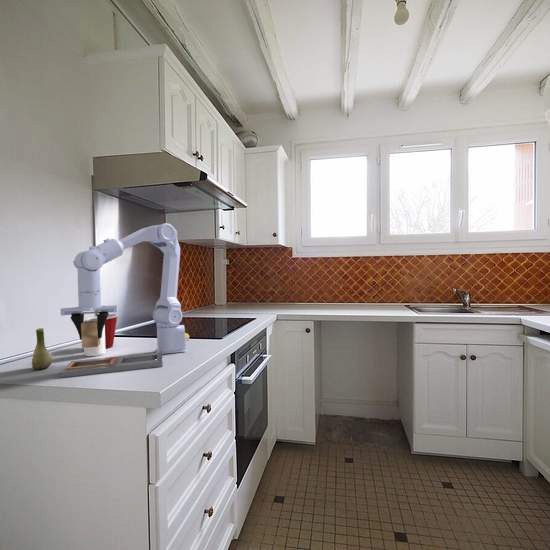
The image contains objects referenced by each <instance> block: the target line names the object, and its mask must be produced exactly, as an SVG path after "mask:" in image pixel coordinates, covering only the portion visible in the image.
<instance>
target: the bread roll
mask: <svg viewBox="0 0 550 550" xmlns="http://www.w3.org/2000/svg"><path fill="white" fill-rule="evenodd" d="M186 340H187V341H189V340H190V335H189V334H188V332H187V333H186V332H185V341H186ZM187 341H186V342H187Z"/></svg>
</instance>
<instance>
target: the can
mask: <svg viewBox="0 0 550 550" xmlns="http://www.w3.org/2000/svg"><path fill="white" fill-rule="evenodd" d="M84 321H97V319H89V320H86V319H85V320H84ZM106 349H107V348H106ZM106 349H105V324H104V328H103V332H102V337H101V338H100V345H99V346H98V347H88V348H83V353H84V356H85V357H86V356H87V357H88V358H92V357H91V356H94V357H99V355H100V356H102V355H105V353H106V352H107V351H106Z"/></svg>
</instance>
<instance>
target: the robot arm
mask: <svg viewBox="0 0 550 550" xmlns="http://www.w3.org/2000/svg"><path fill="white" fill-rule="evenodd" d="M143 242H149V243H150V244H152V245H153V246H154V247H156V248H158V249H159V250H160V251H161V252H162V253H163V258H162V261H163V262H162V272H161V273H162V275H161V287H160V296H159V299H158V300H157V301H156V303H155V308H154V309H153V312H152V320H153V321H154V322H155V323H156V346H157V348H156V352H155V353H159V352H162V355H165V354H177V353H186V346H187V341H185V333H186V332H185V331H186V329H185V325H184V324H180V323H181V322H182V320H183V312H182V304H181V303H180V302H179V300H178V299H177V297H178V287H179V286H178V285H179V284H178V282H179V272H180V262H181V261H180V260H181V259H180V258H181V246H180V244H179V240H178V230H176V229H175V227H174V226H173V225H172V224H170V223H167V222H165V223H162V224H156V225H150V226H148V227H147V226H146V227H144V228H140V229H138V230H137V231H135V232H132V233H130V234H129V235H126V236H125V237H123V238H121V239H119V240H117V239H114V238H111V239H110V238H106V239H103V242H102V243H100V244H98V245H95V246H94V245H92V246H89V247H88V250H84V251H80V252H78V253H77V254H76V256H74V257H75V258H74V260H73V261H72V262H73V265H74V267H75V268H76V269H77V295H78V296H77V299H78V301H77V302H78V307H76V306H75V307H64V308H63V307H62V308H60V316H62V317H63V316H64V317H65V316H70V320H71V321H72V323H73V325H74V327H75V328H76V330H77V334H78V335H79V340H80V341H82V336H81V323H83V322H84V321H85V320H84V319H85V315H89V314H91V315H93V314H96V316H97V321H98V338H101V337H102V332H103V328H104V324H105V322H106V319H107V317H108V315H109V314H110V313H112V314H115V313H118V312H119V308H118V307H119V306H118V304H117V305H115V304H114V305H102V300H101V299H102V298H101V296H102V294H101V273H100V271H101V270H100V269H102V267H103V265H106V264H107V263H110V262H111V261H113V260H115V259H117V258H119V257H121V256H123V255H124V250H126V249H128V248H130V247H133V246H135V245H137V244H139V243H143Z"/></svg>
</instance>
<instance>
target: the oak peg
mask: <svg viewBox="0 0 550 550" xmlns="http://www.w3.org/2000/svg"><path fill="white" fill-rule="evenodd" d="M81 336H82V340H81V349H84V348H88V347H98V346H99V345H100V338H98V321H85V320H84V322H83V323H81Z"/></svg>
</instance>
